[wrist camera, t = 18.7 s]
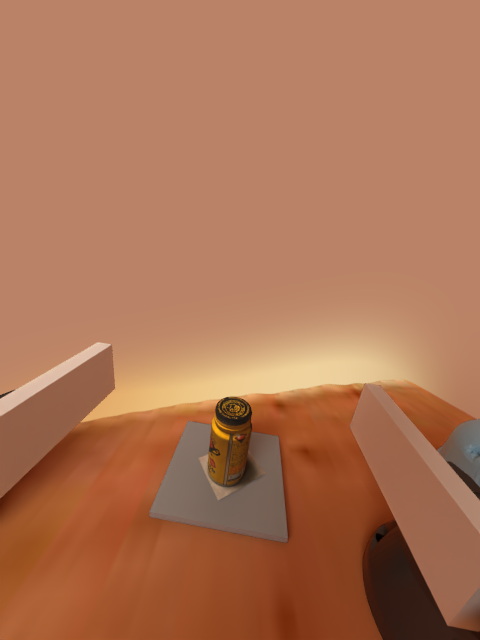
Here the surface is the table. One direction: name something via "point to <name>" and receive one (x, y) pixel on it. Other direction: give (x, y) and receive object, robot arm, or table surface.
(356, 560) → the table surface
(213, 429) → the condiment
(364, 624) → the table surface
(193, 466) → the plain gray board
